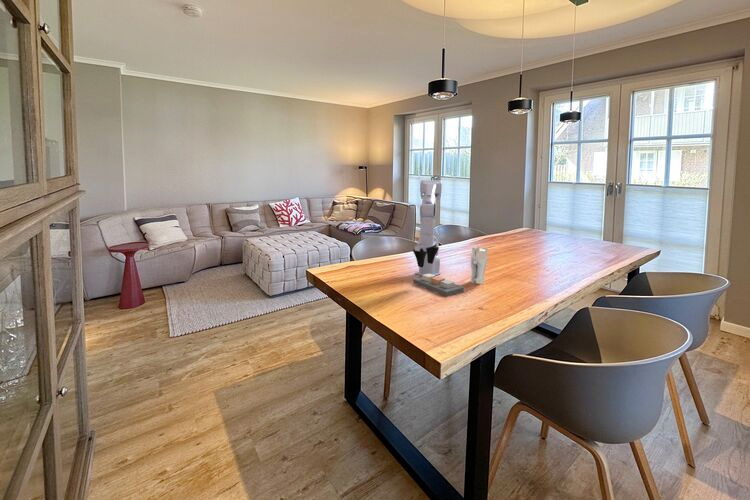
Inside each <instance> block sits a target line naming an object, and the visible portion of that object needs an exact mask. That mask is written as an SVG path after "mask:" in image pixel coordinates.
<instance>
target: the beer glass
mask: <svg viewBox="0 0 750 500" xmlns="http://www.w3.org/2000/svg"><path fill="white" fill-rule="evenodd" d="M488 250H489V249H488V248H485V247H472V248H471V252H470V253H471V254H470V267H471V276H470V279H469V282H470V283H471V284H475V285H483V284H484V283H485V272H486V268H487V263H488Z"/></svg>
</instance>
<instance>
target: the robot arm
mask: <svg viewBox="0 0 750 500" xmlns="http://www.w3.org/2000/svg"><path fill="white" fill-rule="evenodd" d="M419 184H420V185H419V192H420V198H421V204H420V205H419V222H420V226H419V238H418V239H417V244H416V245H414V249H412V250H413V251H412V252H413V254H414V257H415V258H416V262H417V263H416V264H417V267H418V271H415V272H414V274H415V275H419V276H420V277H422V275H424V274H432V275H435V276H439V275H441V273H440V266H441V259H440V258H439V256H438V255H439V249H440V248H439V239H438V237H436V236H435V224H436V223H435V220H436V219H435V218H437V201H440V199H441V197H442V192H443V191H442V190H443V189H442V187H443V181H442V180H441V179H440V180H438V179H437V180H435V179H433V180H432V179H430V180H429V179H421V180H420V183H419Z"/></svg>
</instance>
